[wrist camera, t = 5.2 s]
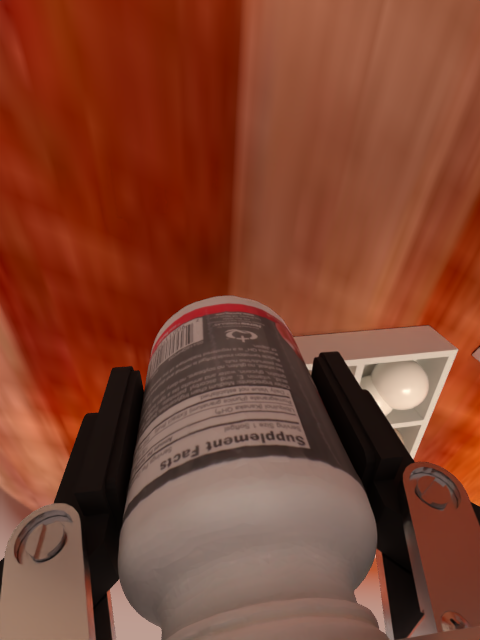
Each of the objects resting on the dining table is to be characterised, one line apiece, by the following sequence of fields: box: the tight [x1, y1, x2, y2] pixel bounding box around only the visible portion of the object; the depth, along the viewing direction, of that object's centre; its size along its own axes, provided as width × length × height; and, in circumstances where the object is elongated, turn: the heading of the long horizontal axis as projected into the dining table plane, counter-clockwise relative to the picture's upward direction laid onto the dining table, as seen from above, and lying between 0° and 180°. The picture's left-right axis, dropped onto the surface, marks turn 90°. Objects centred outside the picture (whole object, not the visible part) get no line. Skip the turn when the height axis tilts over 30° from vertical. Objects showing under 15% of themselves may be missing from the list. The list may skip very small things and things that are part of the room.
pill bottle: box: [118, 296, 390, 640], centre depth 9 cm, size 5×5×10 cm
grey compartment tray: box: [151, 325, 458, 459], centre depth 30 cm, size 23×16×4 cm
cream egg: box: [360, 360, 429, 416], centre depth 28 cm, size 6×4×4 cm
